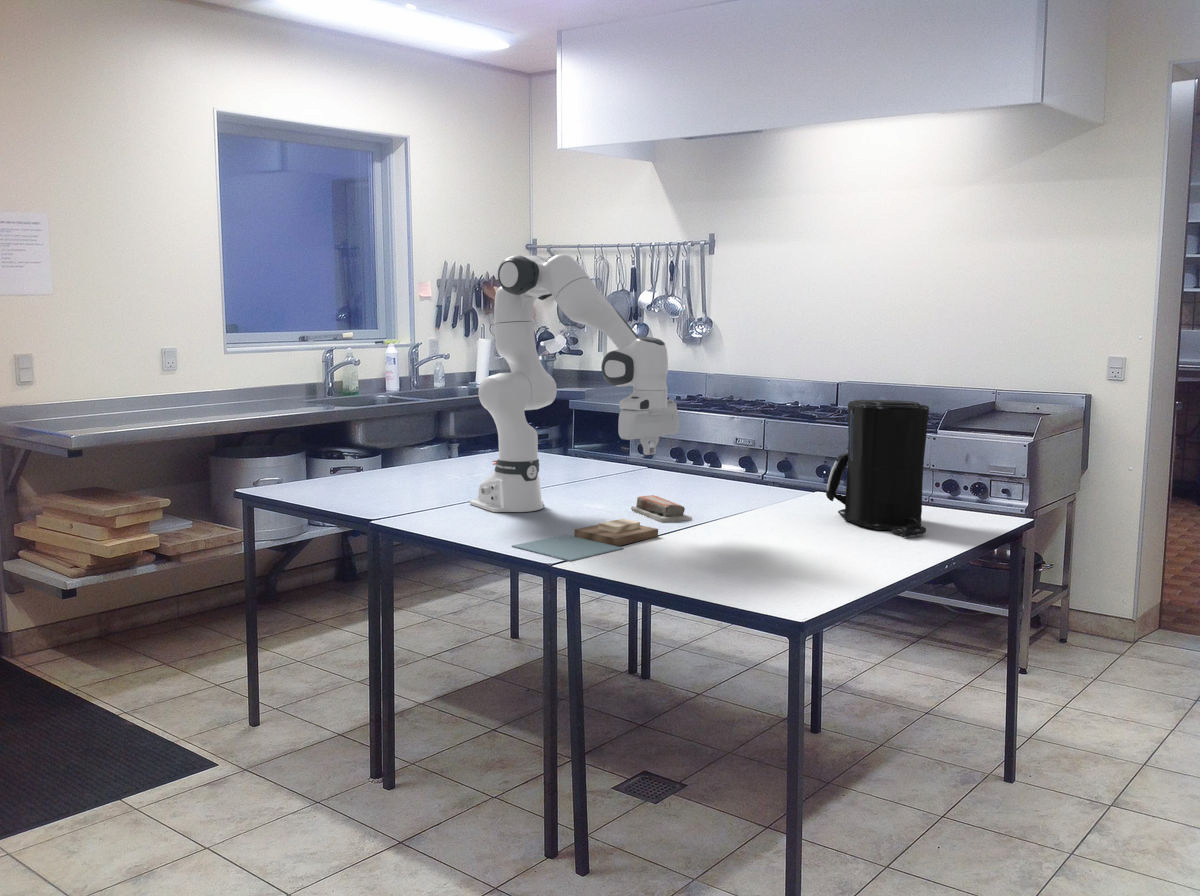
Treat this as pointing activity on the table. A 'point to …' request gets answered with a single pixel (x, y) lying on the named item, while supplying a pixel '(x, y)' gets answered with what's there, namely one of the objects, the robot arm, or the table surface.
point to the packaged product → (660, 509)
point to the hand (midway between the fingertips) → (649, 454)
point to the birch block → (619, 525)
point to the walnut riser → (616, 535)
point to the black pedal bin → (883, 466)
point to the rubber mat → (567, 547)
